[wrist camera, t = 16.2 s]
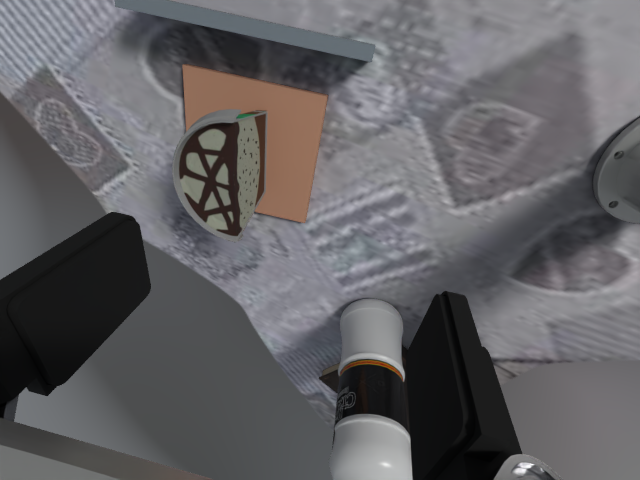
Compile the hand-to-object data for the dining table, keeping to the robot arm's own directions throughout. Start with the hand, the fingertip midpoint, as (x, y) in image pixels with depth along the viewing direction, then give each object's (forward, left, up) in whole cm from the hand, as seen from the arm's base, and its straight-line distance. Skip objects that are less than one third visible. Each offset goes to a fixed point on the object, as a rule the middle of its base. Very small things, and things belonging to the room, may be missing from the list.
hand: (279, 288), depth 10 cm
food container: (+11, +6, -27) cm, 30 cm away
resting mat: (+10, +6, -28) cm, 30 cm away
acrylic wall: (+10, -6, -28) cm, 30 cm away
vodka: (-10, +28, -28) cm, 41 cm away
